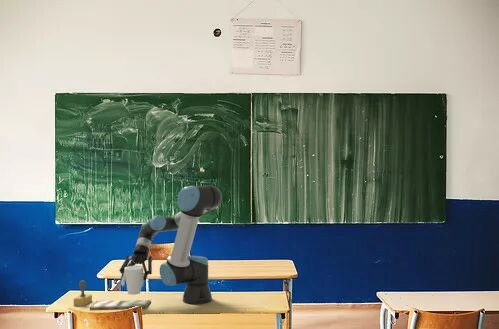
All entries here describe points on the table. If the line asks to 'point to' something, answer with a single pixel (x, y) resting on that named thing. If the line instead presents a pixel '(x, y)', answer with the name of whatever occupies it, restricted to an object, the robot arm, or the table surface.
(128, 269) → the foam cup
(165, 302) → the table surface
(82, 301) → the rubber stamp
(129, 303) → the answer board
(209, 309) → the table surface
